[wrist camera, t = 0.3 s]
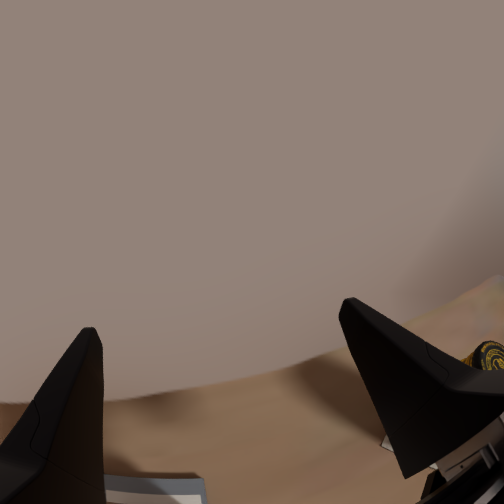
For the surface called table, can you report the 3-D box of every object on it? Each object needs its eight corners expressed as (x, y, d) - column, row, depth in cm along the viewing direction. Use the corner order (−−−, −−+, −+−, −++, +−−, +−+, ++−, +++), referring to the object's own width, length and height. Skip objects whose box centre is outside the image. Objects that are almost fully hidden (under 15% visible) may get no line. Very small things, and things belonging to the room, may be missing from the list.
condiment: (380, 446, 20) (466, 385, 12) (406, 380, 26) (472, 304, 18) (436, 470, 17) (530, 417, 9) (454, 404, 23) (526, 337, 15)
